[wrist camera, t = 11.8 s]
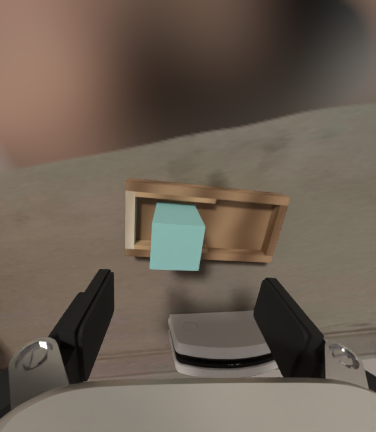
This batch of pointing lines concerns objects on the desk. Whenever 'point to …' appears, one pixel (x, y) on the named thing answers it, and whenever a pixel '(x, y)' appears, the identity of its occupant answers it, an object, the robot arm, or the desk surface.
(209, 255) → the slot board
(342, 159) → the desk surface
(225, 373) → the white piece
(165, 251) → the aqua rectangular block
